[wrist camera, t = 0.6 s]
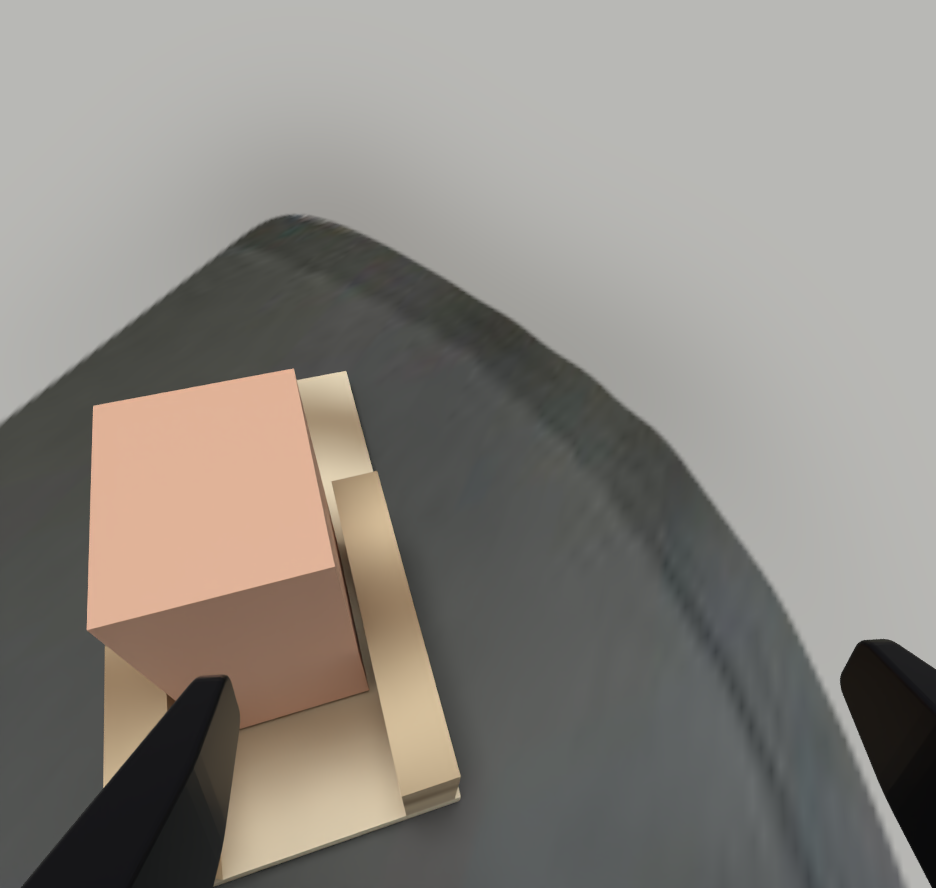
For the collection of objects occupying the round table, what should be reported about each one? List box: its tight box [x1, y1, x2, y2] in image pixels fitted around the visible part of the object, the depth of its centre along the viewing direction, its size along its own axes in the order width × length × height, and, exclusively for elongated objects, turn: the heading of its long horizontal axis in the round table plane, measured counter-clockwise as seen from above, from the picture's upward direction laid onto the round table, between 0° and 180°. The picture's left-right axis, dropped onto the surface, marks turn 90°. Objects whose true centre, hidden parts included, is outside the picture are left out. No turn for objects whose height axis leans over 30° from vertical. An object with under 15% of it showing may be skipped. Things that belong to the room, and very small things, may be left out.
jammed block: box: [87, 369, 369, 729], centre depth 19 cm, size 6×5×10 cm
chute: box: [103, 371, 461, 887], centre depth 23 cm, size 19×9×6 cm, turn 17°
